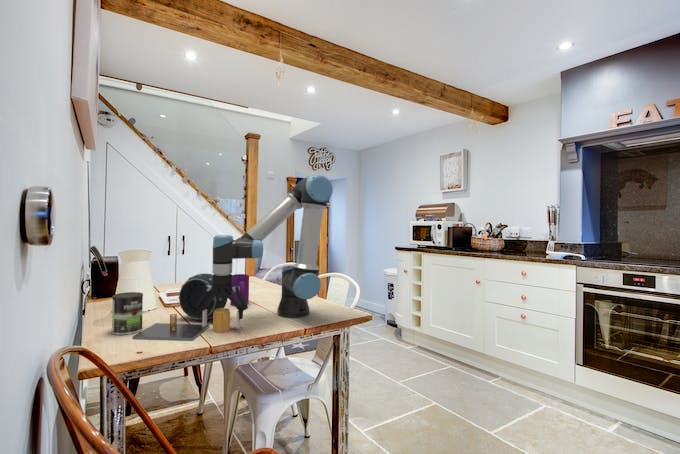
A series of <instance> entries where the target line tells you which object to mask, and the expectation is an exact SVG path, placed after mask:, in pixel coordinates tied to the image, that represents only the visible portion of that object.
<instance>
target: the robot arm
mask: <svg viewBox="0 0 680 454" xmlns="http://www.w3.org/2000/svg"><path fill="white" fill-rule="evenodd" d="M333 188H334V187H333V185H332V182H331V181H330V180H329V178H328V177H326V176H324V175H321V174H314V175H311V176H307V177H304V178H302V179H300V180H299V182H298V183H296V184H295V185H294V186H293V187H292V189H290V190H289V191H288V192H287V193H286V197H285V198H284V199H283V200H281V201H280V202H279V203H277V205H275V206H274V207H273V208H272V209H271V210H270V211H269V212H267V214H266V215H264V216H262V218H261V219H260V220H258V221H257V222H256V223H255V224H254V225H253V226H251V228H249V229H248V231H246V232H245V233H244V234H243V235H241V236H240V237H238V238H236V239H234V236H233V235H231V234H217V235H215V236H214V237H213V239H212V240H213V241H212V242H213V244H212V273H211V274H212V286H209V285H206V286H204V291H203V293H202V295H201V297H200V299H199V301H198V303H197V305H196V307H195V308H196V309H199V310H200V318H202V320H201V321H202V322H201V323H202V327H205V326H206V325H208V319H207V309H205V308H206V307H207V306H208V304H209V303H210V302H211V301H212V300H213V299H214V298H215V297H223V298H225V297H227V298H228V300H230V301H231V302H232V303H233V304H234V307H235V308H236V309H237V311H236V329H240V327H241V320H242V319H243V318H244V311H246V310H248V308H249V306H248V304H246V302H245V300H244V298H243V295H242V293H241V291H240V286H237V287H233V286H232V275H233V274H232V273H233V260H236V259H237V260H238V259H253V260H254V259H260V258H262V257H263V255H264V243H263V241H264V240H265V239H266V238H267V237H268V236H269V235H270V234H271V233H273V232H274V231H275V230H276V229H277V228H278V227H280V225H281V224H283V222H284V221H286V220H287V219H288V218H289V217H290V216H292V215H293V214H294V213H295V211H297V210H301V209H303V211H302V219H301V226H300V227H301V228H300V235H299V243H298V251H297V257H296V258H297V259H296V260H297V261H296V262H295V263H294V264H292V265H283V267H282V268H281V298H280V300H279V303H278V307H277V313H276V314H277V315H278V316H280V317H283V318H292V319H293V318H302V317H306V316H308V315H309V314H310V306H309V302H308V300H311V299H313V298H315V297H316V296H317V295H318V293H319V292H320V290H321V287H322V283H321V280H320V276H319V273H320V268H319V267H318V264H317V260H318V253H319V243H320V236H321V228H322V220H323V213H324V210H326V209H327V207H328V200H330V198H331V197H332V195H333V191H334V190H333ZM210 289H211V290H212V291H213V294H212V295H211V296H210V298H209V299H208V300H207V301H206V302H205V303H204V304H203V306H201V305H202V303H203V301H204V299H205V297H206V295H207V294H208V291H210ZM232 290H234V292H236V295H237V297H238V299H239V301H240V303H241V305H242V306H241V305H240V303H239V302H238V301H237V300H236V298H235V297H234V296H233V294H232V293H231V292H232Z"/></svg>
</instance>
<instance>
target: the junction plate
mask: <svg viewBox="0 0 680 454" xmlns="http://www.w3.org/2000/svg"><path fill="white" fill-rule="evenodd" d="M209 328H210V324H207V325H206V326H205V327H202V324H200V323H199V324H198V323H197V324H196V323H178V314H177V313H172V314H170V315H169V323H167V322H166V323H162V322H161V323H160V322H156V323H153V324H152V325H150V326H148V327H147V328H145V329H142V330H141V331H139V332H136V333H135V334H134V335H132V339H133V340H155V341H156V340H157V341H159V340H160V341H188V342H189V341H190V342H192V341H195V339H197V338H198V337H200V335H202V334H203V333H204V332H205V331H206V330H208V329H209Z"/></svg>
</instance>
